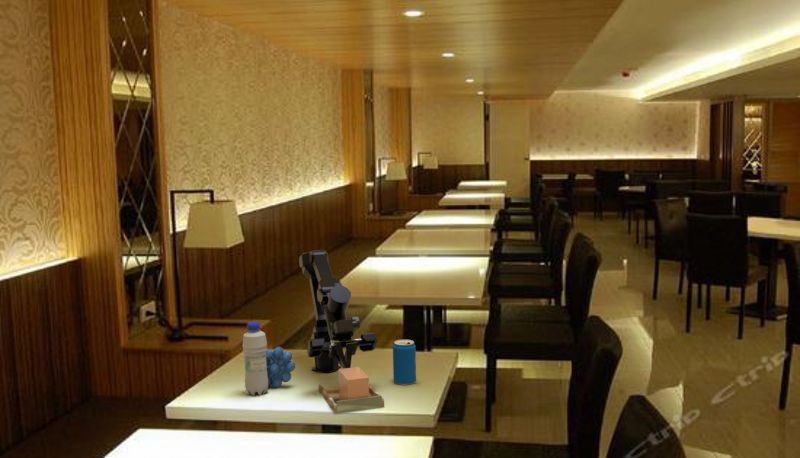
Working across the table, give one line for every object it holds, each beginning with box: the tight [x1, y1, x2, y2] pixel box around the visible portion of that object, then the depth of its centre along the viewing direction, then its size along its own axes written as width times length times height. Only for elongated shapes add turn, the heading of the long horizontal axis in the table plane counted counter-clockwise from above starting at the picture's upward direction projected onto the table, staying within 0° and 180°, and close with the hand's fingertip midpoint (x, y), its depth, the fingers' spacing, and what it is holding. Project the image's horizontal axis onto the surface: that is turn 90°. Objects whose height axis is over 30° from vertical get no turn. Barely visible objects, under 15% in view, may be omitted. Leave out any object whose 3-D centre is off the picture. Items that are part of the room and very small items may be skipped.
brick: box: [337, 366, 370, 401], centre depth 198 cm, size 10×6×8 cm, turn 18°
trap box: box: [317, 383, 385, 415], centre depth 202 cm, size 20×13×4 cm, turn 18°
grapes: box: [266, 346, 296, 389], centre depth 213 cm, size 12×7×12 cm, turn 88°
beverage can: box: [392, 339, 417, 386], centre depth 214 cm, size 6×6×12 cm
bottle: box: [242, 321, 269, 396], centre depth 209 cm, size 7×7×20 cm
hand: (348, 372), depth 203 cm, fingers closed, pressing on brick
